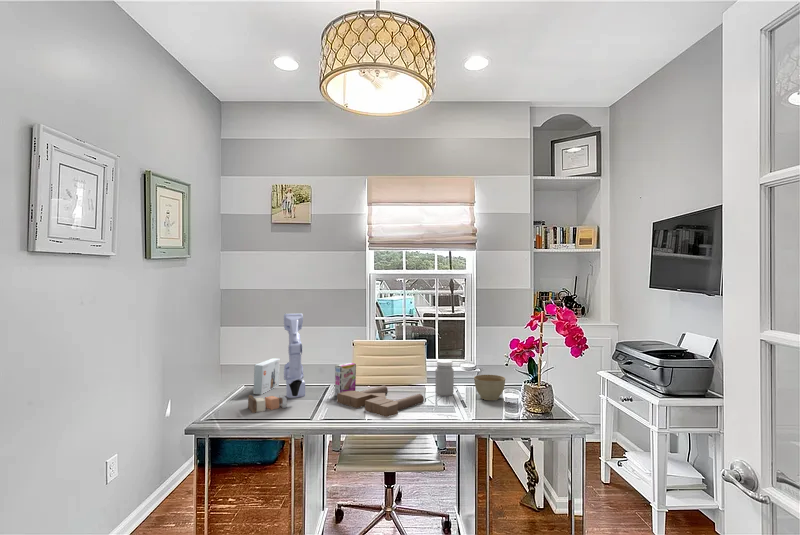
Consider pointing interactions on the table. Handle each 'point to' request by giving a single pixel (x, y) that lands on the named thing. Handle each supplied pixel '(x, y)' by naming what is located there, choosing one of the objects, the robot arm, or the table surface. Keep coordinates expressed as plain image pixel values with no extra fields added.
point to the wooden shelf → (252, 403)
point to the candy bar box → (345, 377)
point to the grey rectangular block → (283, 401)
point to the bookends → (377, 401)
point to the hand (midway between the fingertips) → (295, 395)
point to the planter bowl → (489, 386)
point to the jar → (444, 378)
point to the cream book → (260, 404)
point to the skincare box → (266, 376)
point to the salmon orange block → (271, 402)
